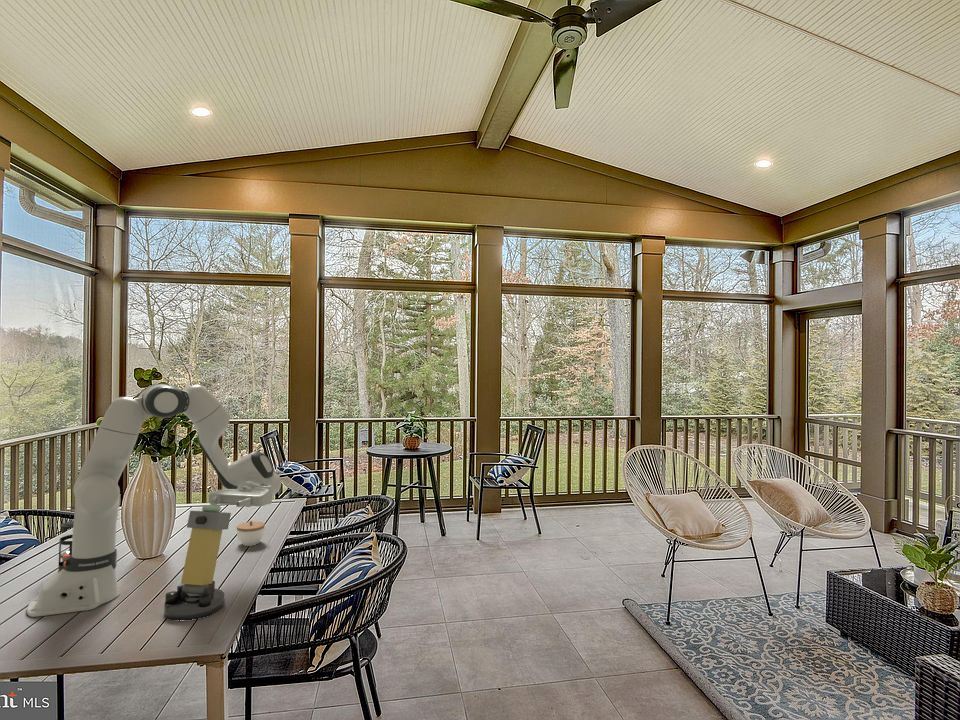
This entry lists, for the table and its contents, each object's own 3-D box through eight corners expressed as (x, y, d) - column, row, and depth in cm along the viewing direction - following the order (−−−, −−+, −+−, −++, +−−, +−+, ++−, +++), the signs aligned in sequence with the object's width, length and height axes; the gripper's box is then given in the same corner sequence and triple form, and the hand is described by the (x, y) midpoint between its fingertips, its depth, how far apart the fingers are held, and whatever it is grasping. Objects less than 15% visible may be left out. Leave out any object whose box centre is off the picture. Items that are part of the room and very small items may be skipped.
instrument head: (198, 598, 153) (216, 506, 160) (168, 595, 155) (187, 503, 162) (215, 594, 161) (232, 506, 168) (186, 591, 162) (203, 504, 170)
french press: (87, 574, 182) (90, 508, 183) (53, 578, 178) (56, 510, 179) (94, 563, 193) (96, 500, 193) (62, 566, 189) (65, 502, 189)
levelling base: (201, 623, 150) (202, 599, 150) (151, 618, 152) (152, 594, 152) (235, 599, 166) (235, 577, 166) (189, 595, 168) (190, 573, 168)
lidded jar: (230, 545, 216) (231, 522, 216) (252, 538, 226) (253, 516, 226) (248, 549, 211) (248, 526, 211) (269, 542, 221) (270, 520, 221)
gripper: (223, 483, 188) (196, 492, 174) (276, 485, 185) (253, 495, 171) (223, 500, 188) (196, 511, 174) (276, 503, 185) (253, 515, 171)
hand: (225, 503), depth 173 cm, fingers open, 8 cm apart
